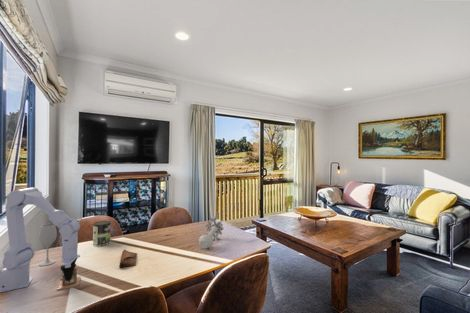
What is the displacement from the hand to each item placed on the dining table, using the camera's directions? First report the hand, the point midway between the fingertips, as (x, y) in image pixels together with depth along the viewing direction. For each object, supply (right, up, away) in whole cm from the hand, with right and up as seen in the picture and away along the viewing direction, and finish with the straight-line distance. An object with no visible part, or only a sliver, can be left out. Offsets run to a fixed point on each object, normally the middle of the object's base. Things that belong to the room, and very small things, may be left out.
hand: (69, 276), depth 103 cm
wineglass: (-27, -3, +20) cm, 34 cm away
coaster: (0, -3, 0) cm, 3 cm away
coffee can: (-14, -4, +49) cm, 51 cm away
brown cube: (0, -3, 0) cm, 3 cm away
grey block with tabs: (-8, -3, +8) cm, 12 cm away
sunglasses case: (+16, -4, +24) cm, 29 cm away
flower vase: (+61, -5, +51) cm, 79 cm away
